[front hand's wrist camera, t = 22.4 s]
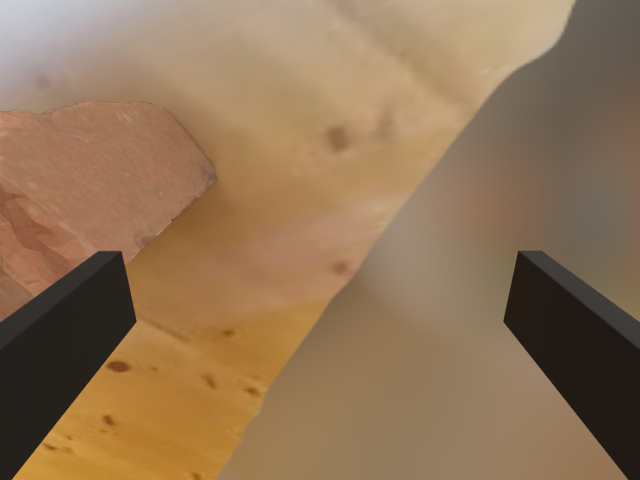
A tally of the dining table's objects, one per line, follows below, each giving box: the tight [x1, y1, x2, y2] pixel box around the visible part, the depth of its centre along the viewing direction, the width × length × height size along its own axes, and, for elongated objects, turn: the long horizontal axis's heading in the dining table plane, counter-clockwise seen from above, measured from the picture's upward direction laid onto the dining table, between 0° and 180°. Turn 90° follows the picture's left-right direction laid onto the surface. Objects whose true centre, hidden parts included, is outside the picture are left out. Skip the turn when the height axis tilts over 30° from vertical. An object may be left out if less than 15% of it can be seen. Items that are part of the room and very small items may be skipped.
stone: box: [0, 101, 217, 322], centre depth 33 cm, size 22×11×28 cm, turn 125°
